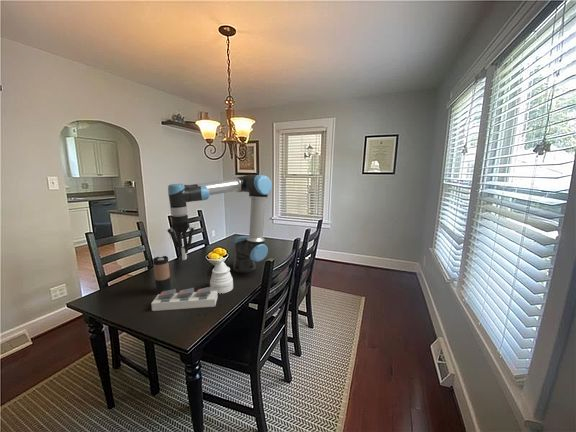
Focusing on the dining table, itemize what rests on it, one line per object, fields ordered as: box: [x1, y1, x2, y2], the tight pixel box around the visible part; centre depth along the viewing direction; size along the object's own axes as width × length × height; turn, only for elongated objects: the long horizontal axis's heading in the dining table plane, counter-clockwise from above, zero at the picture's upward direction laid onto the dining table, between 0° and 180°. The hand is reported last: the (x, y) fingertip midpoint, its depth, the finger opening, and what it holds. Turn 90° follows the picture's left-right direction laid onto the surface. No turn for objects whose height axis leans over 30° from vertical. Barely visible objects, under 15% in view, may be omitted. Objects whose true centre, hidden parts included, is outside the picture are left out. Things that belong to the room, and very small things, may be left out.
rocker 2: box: [196, 286, 212, 297], centre depth 129 cm, size 7×5×2 cm
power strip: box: [150, 291, 219, 312], centre depth 128 cm, size 30×9×4 cm, turn 98°
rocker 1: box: [158, 288, 177, 299], centre depth 127 cm, size 7×5×2 cm
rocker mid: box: [177, 287, 195, 298], centre depth 128 cm, size 7×5×2 cm
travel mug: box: [152, 255, 172, 295], centre depth 139 cm, size 8×8×20 cm
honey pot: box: [209, 259, 234, 295], centre depth 143 cm, size 13×13×18 cm
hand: (184, 259), depth 130 cm, fingers closed
